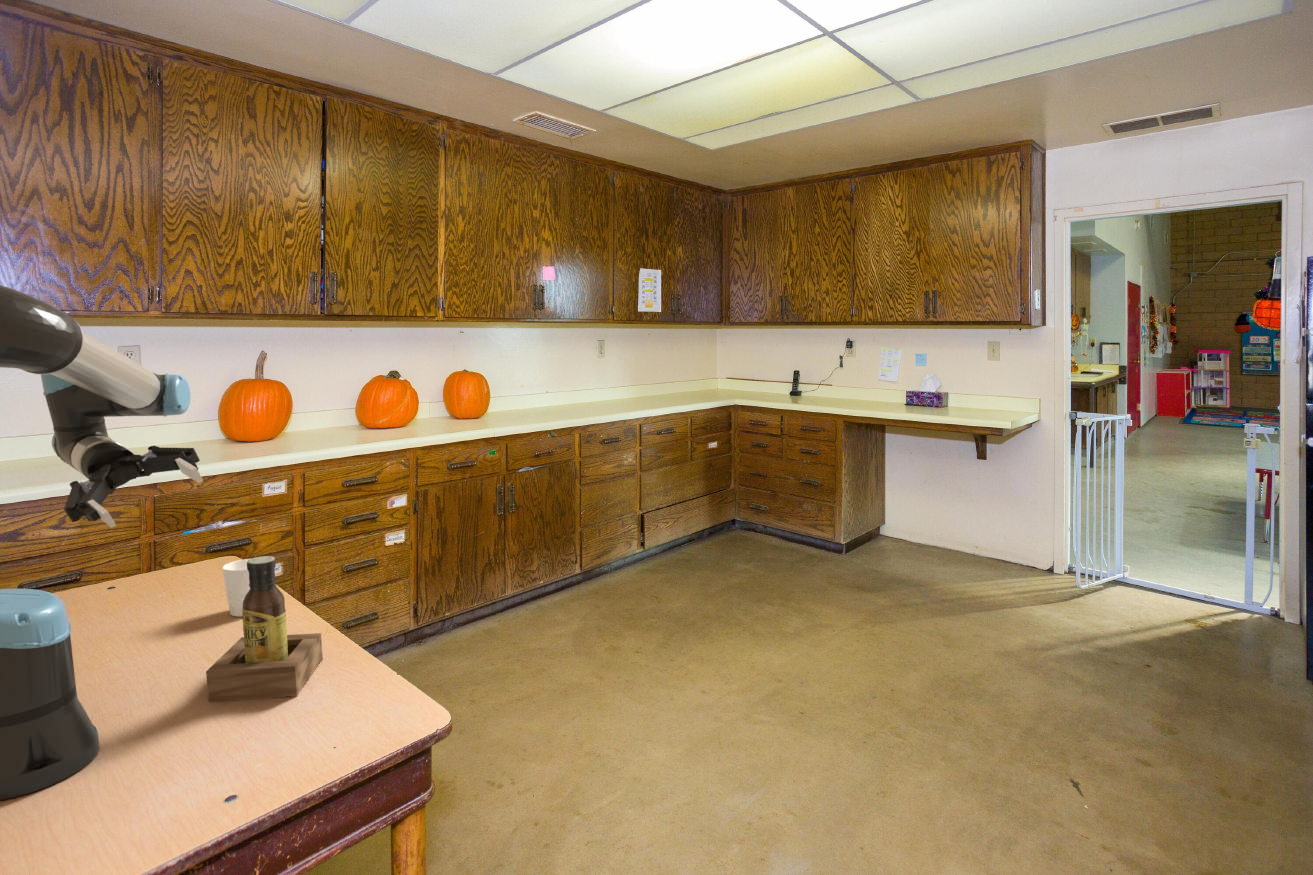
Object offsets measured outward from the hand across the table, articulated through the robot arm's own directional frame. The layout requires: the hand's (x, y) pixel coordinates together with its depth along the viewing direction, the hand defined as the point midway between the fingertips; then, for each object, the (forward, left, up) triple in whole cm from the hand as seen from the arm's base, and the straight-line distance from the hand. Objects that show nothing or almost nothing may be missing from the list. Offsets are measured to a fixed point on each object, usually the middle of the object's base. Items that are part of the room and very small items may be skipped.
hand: (155, 496), depth 118 cm
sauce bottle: (-4, -16, -30) cm, 34 cm away
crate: (-4, -16, -31) cm, 35 cm away
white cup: (+29, 0, -31) cm, 43 cm away
